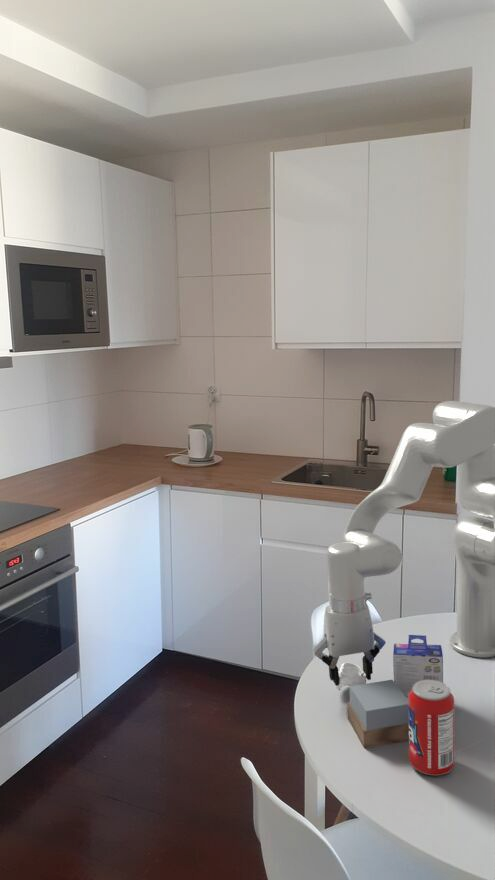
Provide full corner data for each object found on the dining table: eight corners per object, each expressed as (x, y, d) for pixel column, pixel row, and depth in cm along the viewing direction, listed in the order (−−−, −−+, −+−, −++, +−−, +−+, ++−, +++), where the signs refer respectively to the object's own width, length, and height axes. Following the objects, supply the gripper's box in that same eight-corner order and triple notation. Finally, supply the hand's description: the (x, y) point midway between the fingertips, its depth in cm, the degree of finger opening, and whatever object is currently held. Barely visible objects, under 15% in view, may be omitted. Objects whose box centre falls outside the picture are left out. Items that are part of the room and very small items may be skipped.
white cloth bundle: (334, 678, 154) (330, 658, 153) (364, 674, 154) (361, 653, 153) (338, 696, 146) (334, 675, 145) (370, 692, 146) (366, 670, 145)
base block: (394, 713, 142) (394, 695, 142) (414, 742, 133) (414, 723, 132) (347, 720, 141) (346, 702, 140) (364, 750, 131) (363, 731, 130)
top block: (392, 697, 141) (392, 679, 140) (411, 722, 132) (411, 703, 131) (350, 704, 139) (349, 686, 138) (366, 730, 130) (366, 711, 130)
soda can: (448, 784, 120) (448, 704, 117) (403, 772, 124) (402, 694, 121) (458, 758, 126) (459, 682, 124) (415, 747, 130) (415, 673, 128)
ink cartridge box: (442, 698, 146) (442, 633, 143) (444, 713, 141) (444, 646, 138) (394, 695, 148) (393, 631, 145) (394, 709, 143) (393, 644, 140)
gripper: (380, 588, 151) (383, 664, 155) (302, 600, 148) (307, 677, 152) (393, 602, 144) (396, 682, 147) (311, 615, 141) (316, 695, 145)
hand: (351, 678), depth 150 cm, fingers closed on white cloth bundle, 6 cm apart
